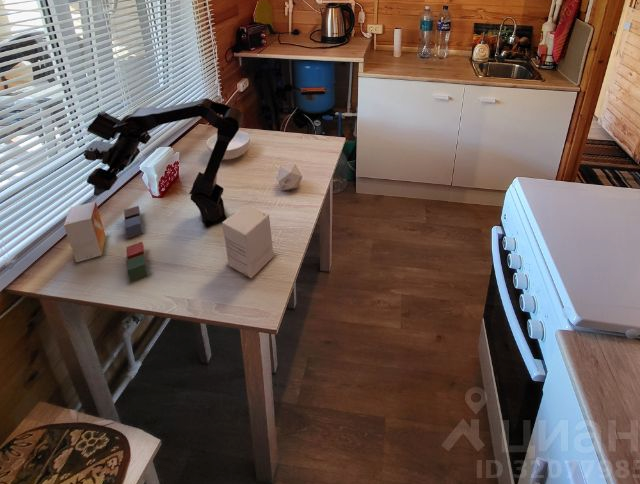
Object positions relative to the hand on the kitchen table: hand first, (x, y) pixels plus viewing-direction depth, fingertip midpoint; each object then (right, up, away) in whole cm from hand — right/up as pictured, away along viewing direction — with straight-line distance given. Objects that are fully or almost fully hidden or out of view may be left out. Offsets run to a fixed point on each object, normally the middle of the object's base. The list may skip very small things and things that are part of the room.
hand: (104, 185), depth 114 cm
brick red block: (+15, -19, -8) cm, 25 cm away
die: (+51, -7, +24) cm, 57 cm away
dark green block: (+17, -20, -12) cm, 29 cm away
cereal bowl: (+23, +1, +44) cm, 49 cm away
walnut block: (+5, -13, +6) cm, 16 cm away
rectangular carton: (+46, -19, -8) cm, 51 cm away
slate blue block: (+8, -15, +2) cm, 17 cm away
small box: (-1, -18, -4) cm, 18 cm away
